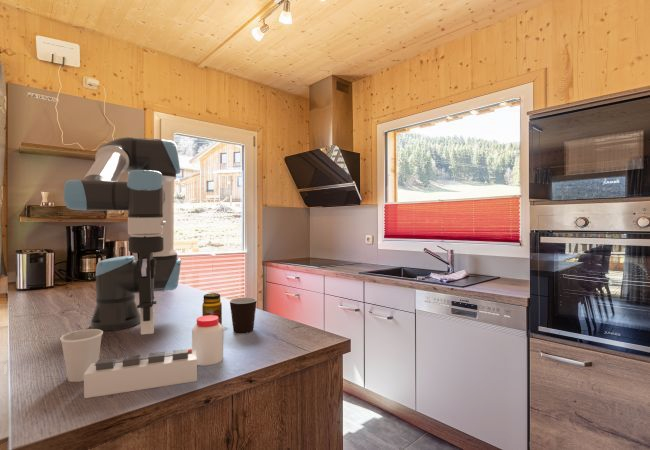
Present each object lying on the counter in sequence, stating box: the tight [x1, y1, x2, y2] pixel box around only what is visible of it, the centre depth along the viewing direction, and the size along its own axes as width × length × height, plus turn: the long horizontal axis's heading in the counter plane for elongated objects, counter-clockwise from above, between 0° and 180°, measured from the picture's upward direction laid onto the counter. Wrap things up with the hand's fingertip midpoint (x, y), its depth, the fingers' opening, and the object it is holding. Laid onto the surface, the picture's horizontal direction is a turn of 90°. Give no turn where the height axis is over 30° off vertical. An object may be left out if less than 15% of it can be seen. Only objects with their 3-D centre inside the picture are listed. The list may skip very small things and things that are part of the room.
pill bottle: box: [191, 315, 224, 367], centre depth 94 cm, size 8×8×11 cm
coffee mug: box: [229, 296, 258, 335], centre depth 119 cm, size 12×9×10 cm
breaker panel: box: [83, 348, 198, 399], centre depth 81 cm, size 6×22×6 cm, turn 111°
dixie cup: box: [59, 328, 104, 383], centre depth 84 cm, size 8×8×10 cm
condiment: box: [201, 292, 227, 331], centre depth 118 cm, size 7×8×12 cm
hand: (147, 332), depth 87 cm, fingers closed
